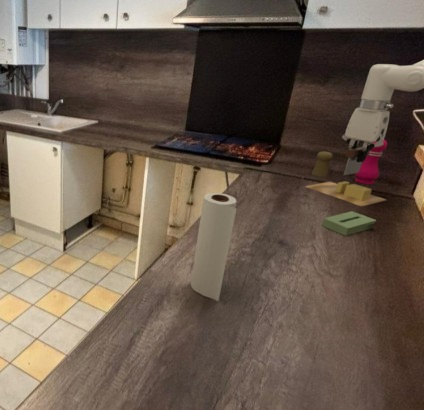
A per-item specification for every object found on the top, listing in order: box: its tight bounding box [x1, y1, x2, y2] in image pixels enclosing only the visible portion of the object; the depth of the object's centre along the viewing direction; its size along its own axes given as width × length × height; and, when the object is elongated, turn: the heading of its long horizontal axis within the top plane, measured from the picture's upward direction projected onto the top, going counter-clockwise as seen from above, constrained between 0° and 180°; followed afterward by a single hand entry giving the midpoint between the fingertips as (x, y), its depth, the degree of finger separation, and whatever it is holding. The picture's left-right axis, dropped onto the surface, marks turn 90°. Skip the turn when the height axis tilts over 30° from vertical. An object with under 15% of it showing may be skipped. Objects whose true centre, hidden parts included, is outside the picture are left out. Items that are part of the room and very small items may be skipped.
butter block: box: [344, 183, 373, 201], centre depth 123 cm, size 6×4×4 cm, turn 24°
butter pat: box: [336, 180, 350, 193], centre depth 128 cm, size 2×4×4 cm, turn 114°
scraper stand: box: [321, 210, 377, 237], centre depth 105 cm, size 7×13×2 cm, turn 114°
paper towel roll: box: [190, 192, 238, 302], centre depth 74 cm, size 7×6×21 cm
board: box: [305, 181, 387, 207], centre depth 128 cm, size 20×14×2 cm
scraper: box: [342, 146, 370, 176], centre depth 122 cm, size 2×9×9 cm, turn 114°
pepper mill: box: [354, 139, 388, 185], centre depth 136 cm, size 7×7×20 cm
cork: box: [310, 151, 333, 178], centre depth 144 cm, size 6×6×11 cm
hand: (355, 160), depth 122 cm, fingers closed on scraper, 2 cm apart
